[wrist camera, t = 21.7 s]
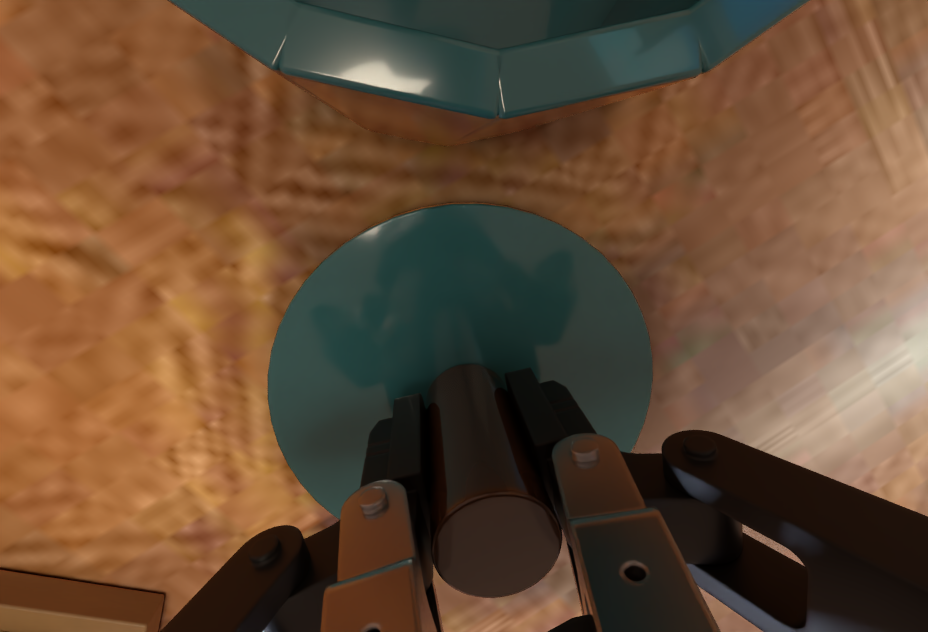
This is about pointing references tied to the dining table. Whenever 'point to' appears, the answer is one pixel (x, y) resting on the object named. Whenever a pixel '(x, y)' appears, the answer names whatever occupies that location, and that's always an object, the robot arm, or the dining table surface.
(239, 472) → the dining table surface
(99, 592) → the wooden lever switch base
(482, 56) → the crock
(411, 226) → the crock lid
